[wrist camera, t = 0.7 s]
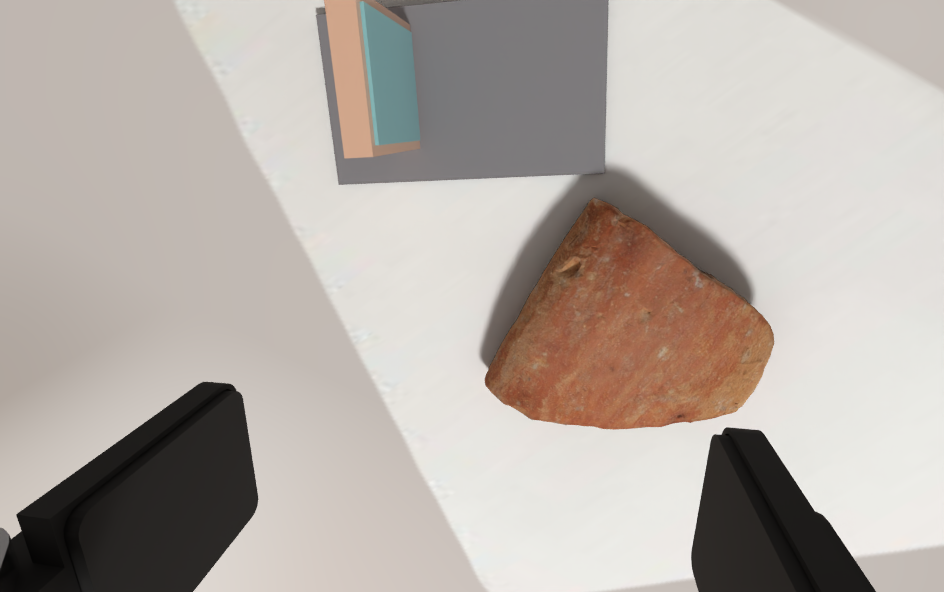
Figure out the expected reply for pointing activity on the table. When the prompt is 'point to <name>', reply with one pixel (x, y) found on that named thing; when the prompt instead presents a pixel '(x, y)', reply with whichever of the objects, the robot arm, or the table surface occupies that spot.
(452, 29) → the mat
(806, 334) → the table surface
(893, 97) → the table surface
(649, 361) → the ceramic shard
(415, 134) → the tile
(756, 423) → the table surface
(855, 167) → the table surface
